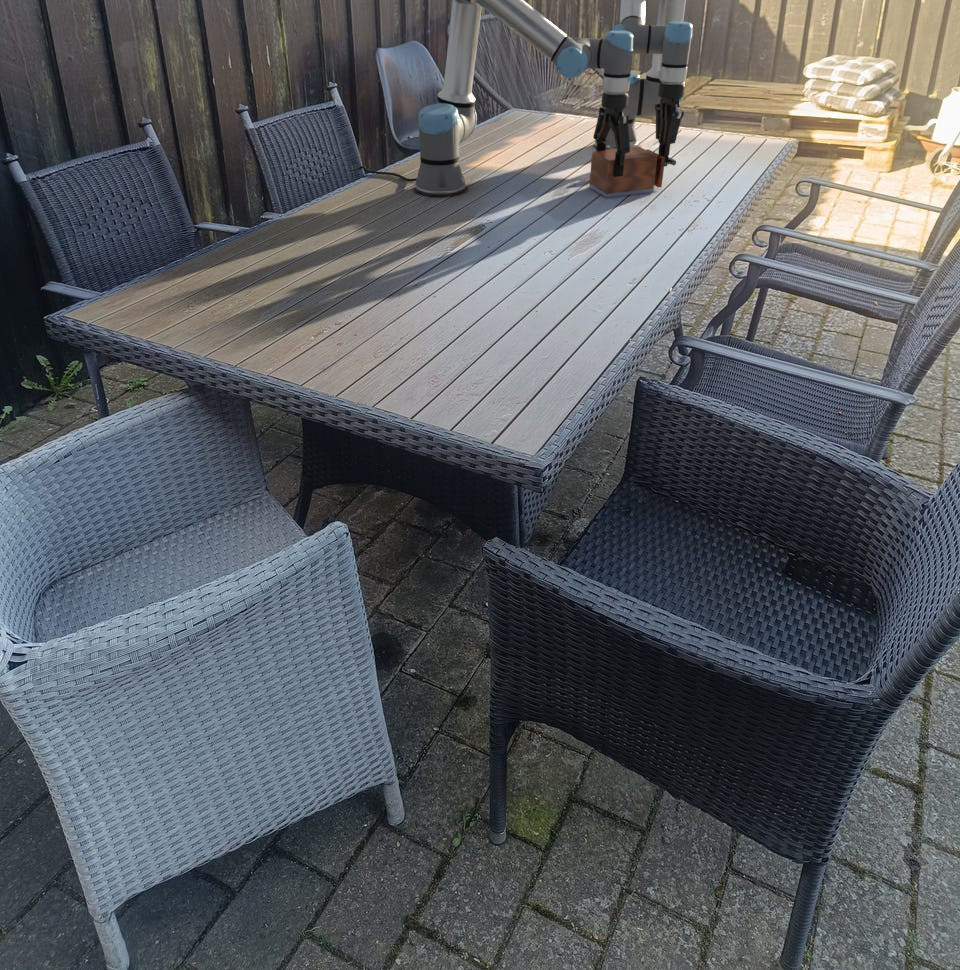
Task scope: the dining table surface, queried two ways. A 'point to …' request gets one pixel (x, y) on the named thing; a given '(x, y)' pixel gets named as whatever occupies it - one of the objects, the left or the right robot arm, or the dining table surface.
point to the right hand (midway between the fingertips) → (662, 165)
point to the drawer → (660, 168)
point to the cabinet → (635, 172)
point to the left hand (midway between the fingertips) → (608, 170)
